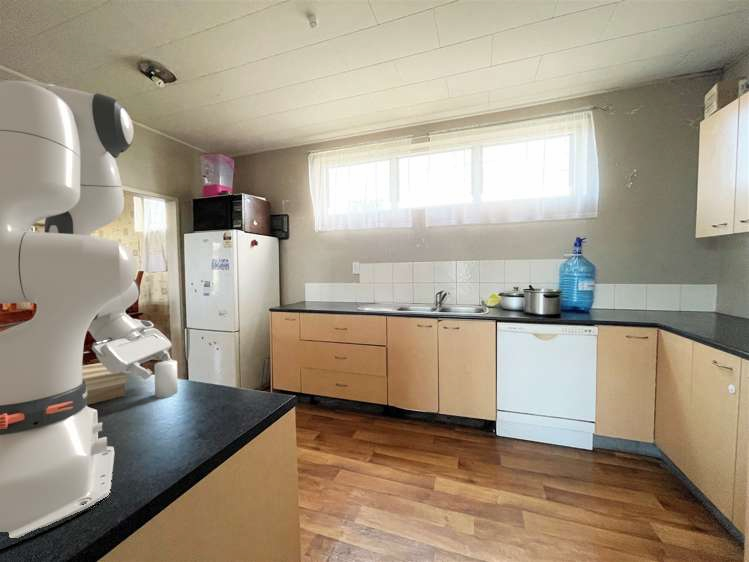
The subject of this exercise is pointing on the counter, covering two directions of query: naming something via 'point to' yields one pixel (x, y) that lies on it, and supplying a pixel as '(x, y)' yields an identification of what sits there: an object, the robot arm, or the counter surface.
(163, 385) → the white rounded block
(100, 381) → the wooden board
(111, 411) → the counter surface
